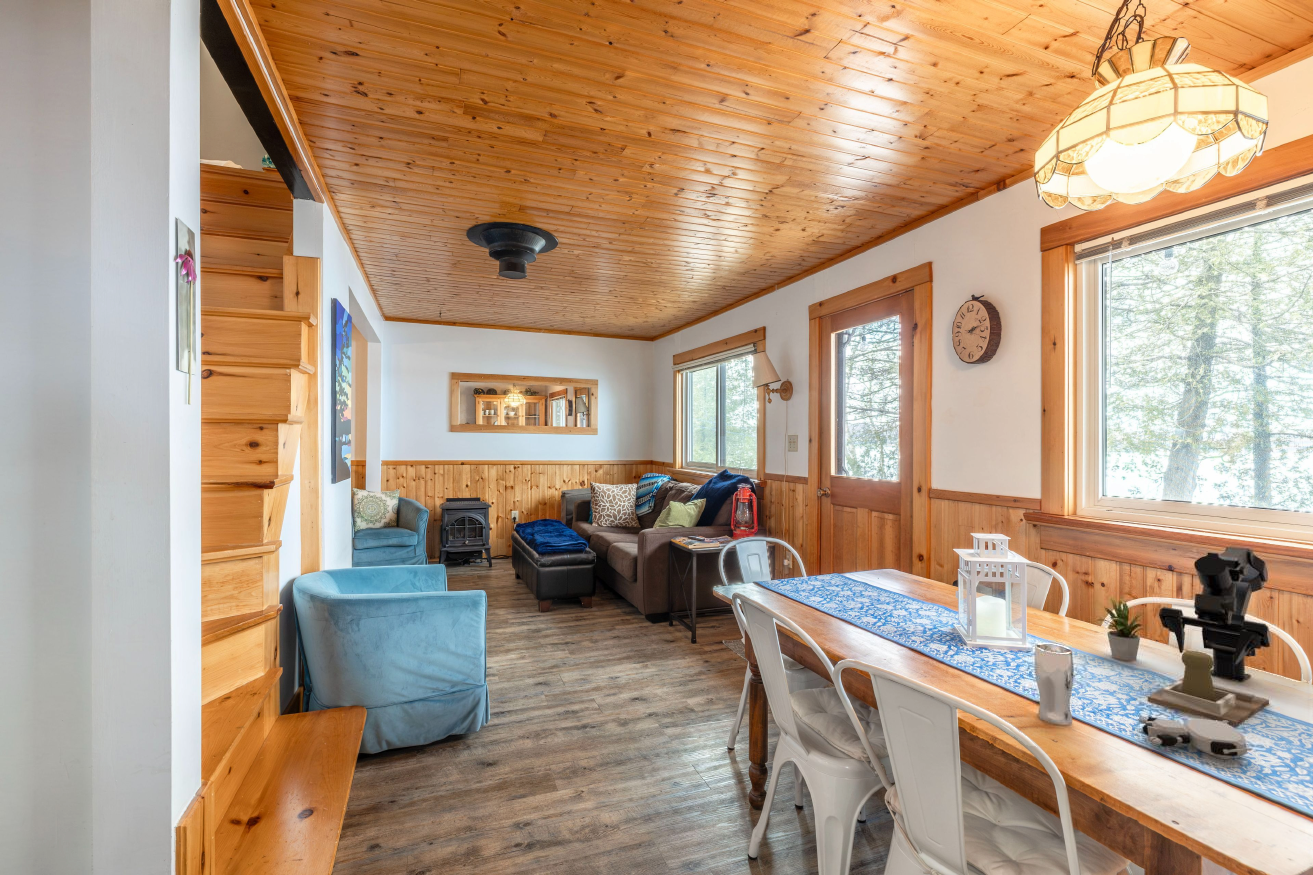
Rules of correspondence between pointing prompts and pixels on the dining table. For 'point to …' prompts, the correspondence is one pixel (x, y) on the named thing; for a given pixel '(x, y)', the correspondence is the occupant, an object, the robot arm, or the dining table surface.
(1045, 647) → the beer glass
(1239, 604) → the robot arm
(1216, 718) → the assembly jig
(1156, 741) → the robot toy
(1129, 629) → the house plant
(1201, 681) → the cork
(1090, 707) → the dining table surface
